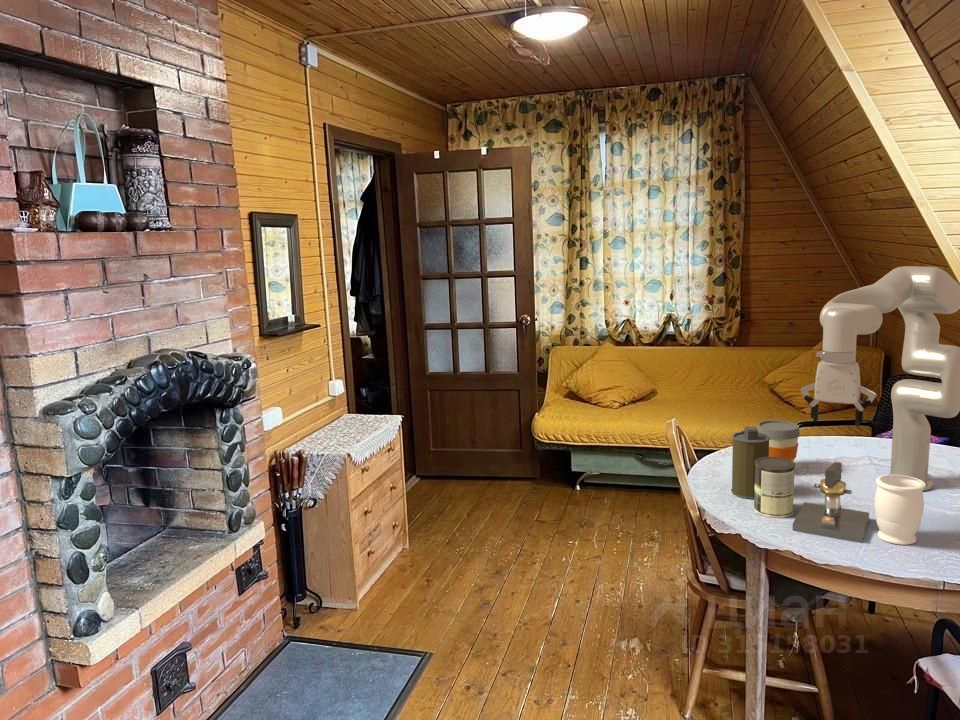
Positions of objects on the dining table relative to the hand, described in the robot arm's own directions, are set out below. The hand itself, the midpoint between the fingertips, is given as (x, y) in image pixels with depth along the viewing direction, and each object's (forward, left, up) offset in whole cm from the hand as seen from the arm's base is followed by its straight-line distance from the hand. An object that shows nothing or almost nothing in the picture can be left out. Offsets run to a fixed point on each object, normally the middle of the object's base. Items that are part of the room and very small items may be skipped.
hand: (836, 422), depth 184 cm
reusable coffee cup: (-37, -21, -28) cm, 51 cm away
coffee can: (-3, -15, -28) cm, 32 cm away
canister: (-14, -24, -28) cm, 39 cm away
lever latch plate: (0, 0, -28) cm, 28 cm away
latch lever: (0, 0, -18) cm, 18 cm away
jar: (+2, +15, -28) cm, 32 cm away
